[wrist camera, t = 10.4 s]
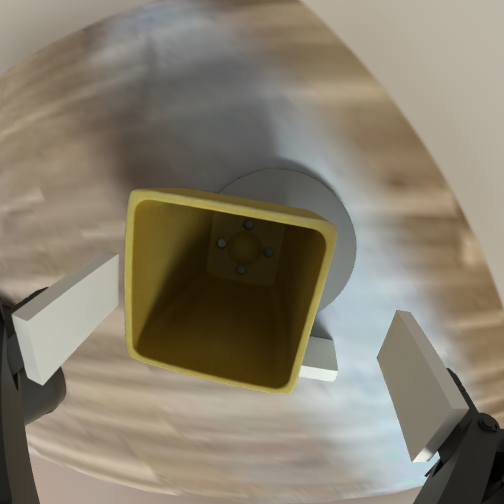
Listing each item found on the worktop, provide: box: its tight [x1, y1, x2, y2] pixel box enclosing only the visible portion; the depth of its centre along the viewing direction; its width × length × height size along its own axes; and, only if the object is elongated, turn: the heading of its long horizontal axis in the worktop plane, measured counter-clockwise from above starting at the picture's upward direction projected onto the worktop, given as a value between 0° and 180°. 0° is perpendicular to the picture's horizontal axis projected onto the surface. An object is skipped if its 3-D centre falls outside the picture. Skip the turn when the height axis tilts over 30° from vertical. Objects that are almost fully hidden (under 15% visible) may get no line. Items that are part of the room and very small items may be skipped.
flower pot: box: [124, 187, 338, 394], centre depth 18 cm, size 9×9×9 cm
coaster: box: [218, 169, 356, 312], centre depth 22 cm, size 11×11×1 cm
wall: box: [299, 336, 338, 382], centre depth 23 cm, size 14×1×4 cm, turn 80°
